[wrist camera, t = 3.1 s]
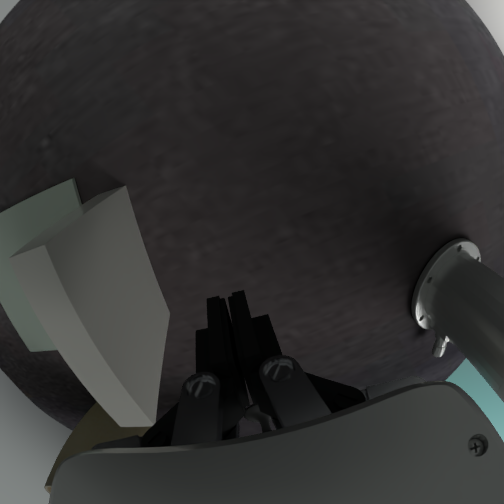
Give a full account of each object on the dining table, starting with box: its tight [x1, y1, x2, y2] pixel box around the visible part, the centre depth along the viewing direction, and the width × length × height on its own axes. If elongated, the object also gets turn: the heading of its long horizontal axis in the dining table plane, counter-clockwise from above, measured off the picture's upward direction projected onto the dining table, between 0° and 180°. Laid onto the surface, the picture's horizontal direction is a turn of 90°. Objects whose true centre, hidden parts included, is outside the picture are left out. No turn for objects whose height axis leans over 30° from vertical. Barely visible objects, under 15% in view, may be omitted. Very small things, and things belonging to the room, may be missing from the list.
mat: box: [0, 178, 82, 352], centre depth 21 cm, size 16×16×1 cm
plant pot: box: [45, 402, 152, 493], centre depth 22 cm, size 15×15×16 cm
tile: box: [8, 186, 170, 427], centre depth 16 cm, size 12×3×12 cm, turn 10°
